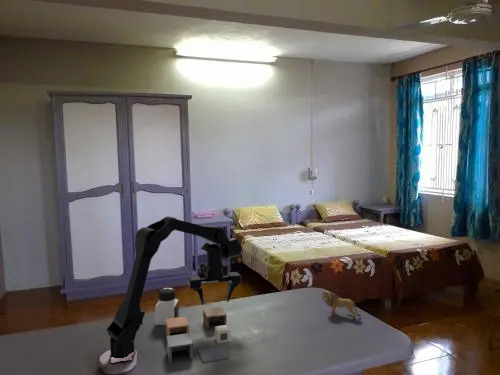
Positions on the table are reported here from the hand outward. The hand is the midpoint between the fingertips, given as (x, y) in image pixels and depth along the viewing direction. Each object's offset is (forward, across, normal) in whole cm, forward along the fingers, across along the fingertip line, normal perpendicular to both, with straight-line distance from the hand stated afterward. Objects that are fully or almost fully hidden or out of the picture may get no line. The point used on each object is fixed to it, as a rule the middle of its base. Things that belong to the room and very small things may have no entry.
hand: (215, 303), depth 142 cm
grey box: (+8, +15, +18) cm, 25 cm away
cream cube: (+8, 0, +12) cm, 14 cm away
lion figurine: (+8, -47, +6) cm, 49 cm away
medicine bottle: (+8, +16, -8) cm, 20 cm away
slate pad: (+8, +5, +21) cm, 23 cm away
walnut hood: (+8, 0, 0) cm, 8 cm away
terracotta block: (+8, +14, +5) cm, 17 cm away
